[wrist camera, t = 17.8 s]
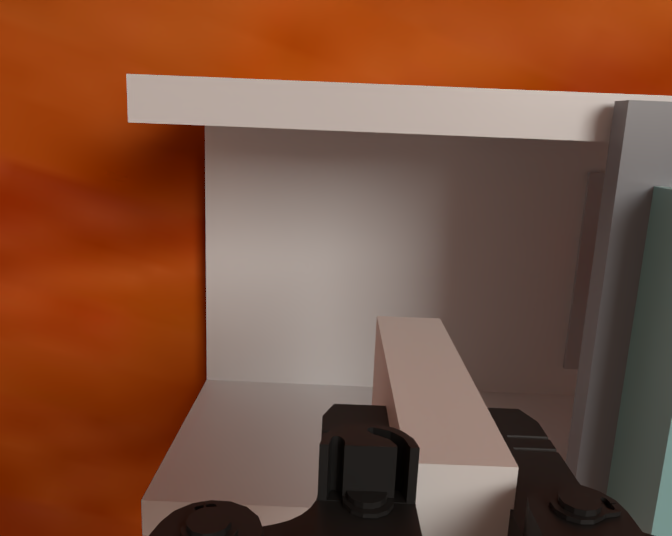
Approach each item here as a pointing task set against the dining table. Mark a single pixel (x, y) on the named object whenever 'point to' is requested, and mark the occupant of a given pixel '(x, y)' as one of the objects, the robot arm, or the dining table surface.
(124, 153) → the dining table surface
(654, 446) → the lid
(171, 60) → the dining table surface
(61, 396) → the dining table surface
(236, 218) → the housing
